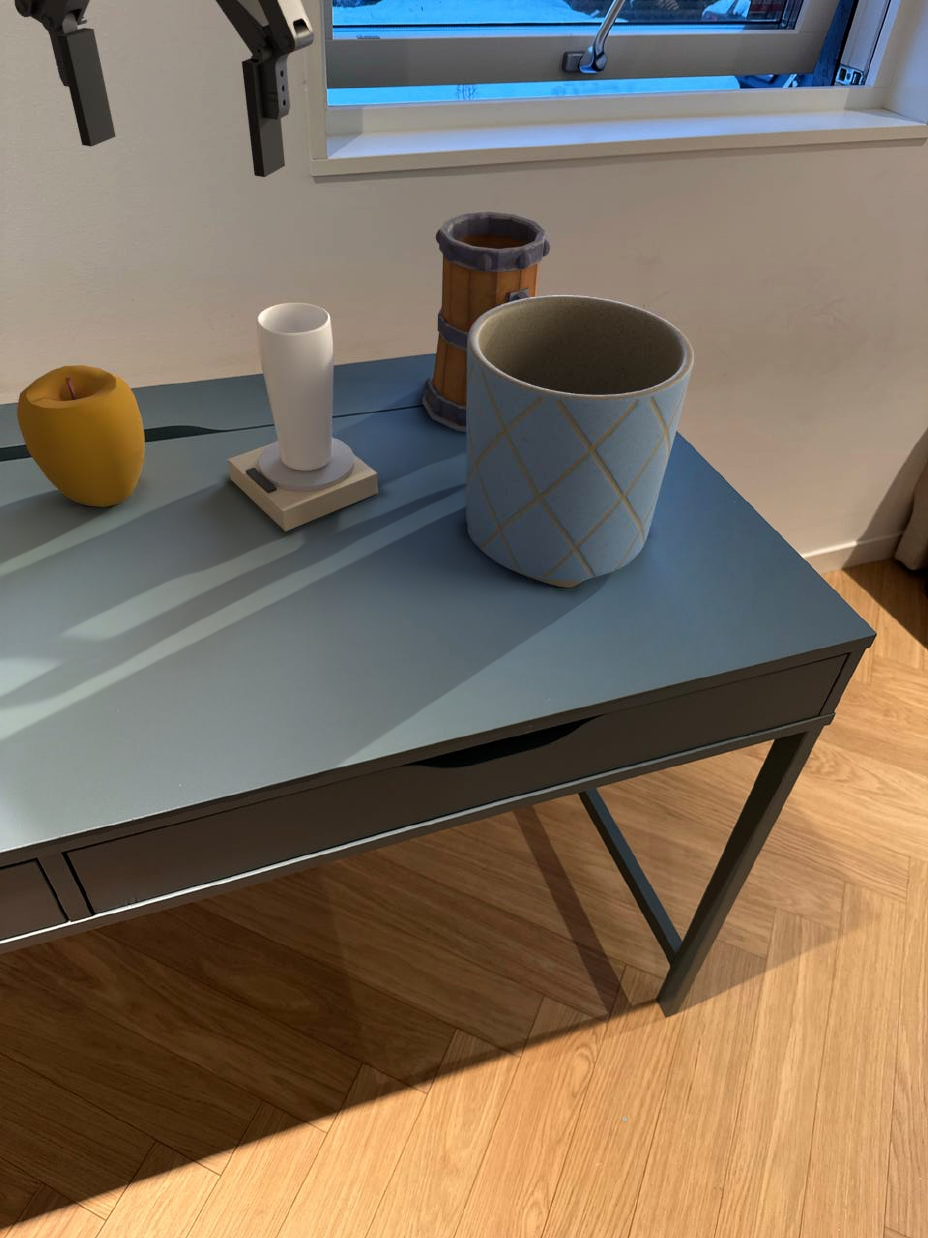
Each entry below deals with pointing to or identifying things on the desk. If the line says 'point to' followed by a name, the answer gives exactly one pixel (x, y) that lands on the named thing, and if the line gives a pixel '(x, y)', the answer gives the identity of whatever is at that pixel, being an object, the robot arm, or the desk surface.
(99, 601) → the desk surface
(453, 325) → the mug
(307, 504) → the scale
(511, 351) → the planter
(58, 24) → the robot arm
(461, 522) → the desk surface
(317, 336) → the drinking glass
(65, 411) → the apple
